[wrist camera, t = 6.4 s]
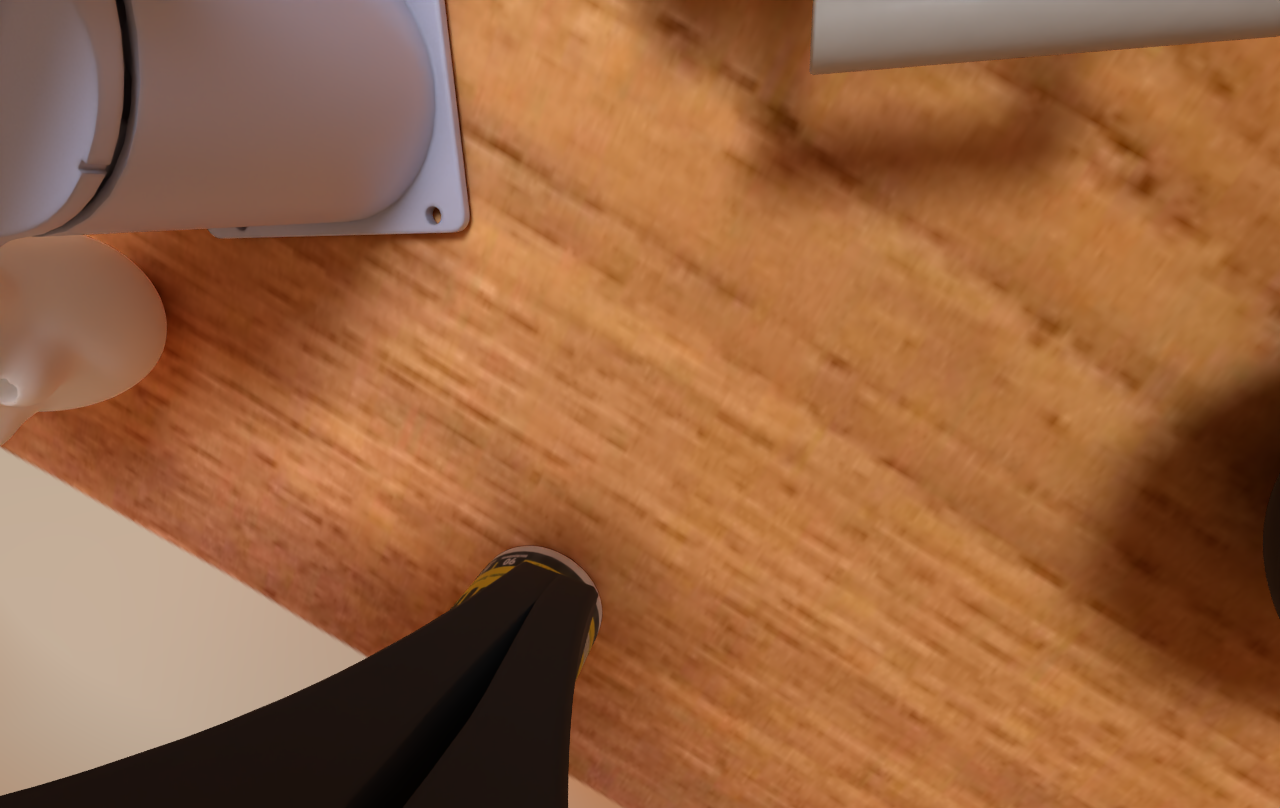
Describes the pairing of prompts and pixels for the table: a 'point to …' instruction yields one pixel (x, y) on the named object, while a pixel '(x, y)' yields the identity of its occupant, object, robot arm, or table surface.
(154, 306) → the figurine
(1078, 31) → the drawer
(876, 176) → the table surface
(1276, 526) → the speaker
